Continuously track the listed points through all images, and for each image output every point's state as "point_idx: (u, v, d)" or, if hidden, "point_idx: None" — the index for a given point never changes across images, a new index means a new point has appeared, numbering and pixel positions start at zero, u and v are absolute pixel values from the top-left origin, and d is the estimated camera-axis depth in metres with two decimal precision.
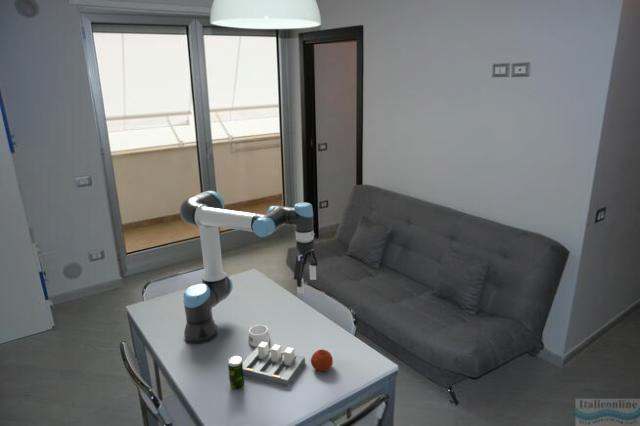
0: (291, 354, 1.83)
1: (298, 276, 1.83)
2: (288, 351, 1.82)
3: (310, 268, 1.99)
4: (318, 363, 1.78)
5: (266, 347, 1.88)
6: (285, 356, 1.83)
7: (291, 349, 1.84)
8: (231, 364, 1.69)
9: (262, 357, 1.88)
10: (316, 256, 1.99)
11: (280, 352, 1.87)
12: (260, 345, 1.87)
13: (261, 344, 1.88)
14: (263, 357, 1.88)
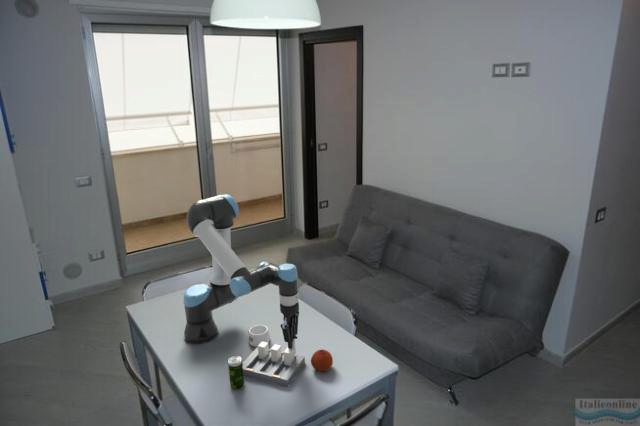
0: (291, 354, 1.82)
1: (288, 340, 1.80)
2: (288, 351, 1.82)
3: None
4: (318, 363, 1.78)
5: (266, 347, 1.88)
6: (285, 356, 1.83)
7: (291, 349, 1.84)
8: (231, 364, 1.69)
9: (262, 357, 1.88)
10: (297, 327, 1.87)
11: (280, 352, 1.87)
12: (260, 345, 1.87)
13: (261, 344, 1.88)
14: (263, 357, 1.88)
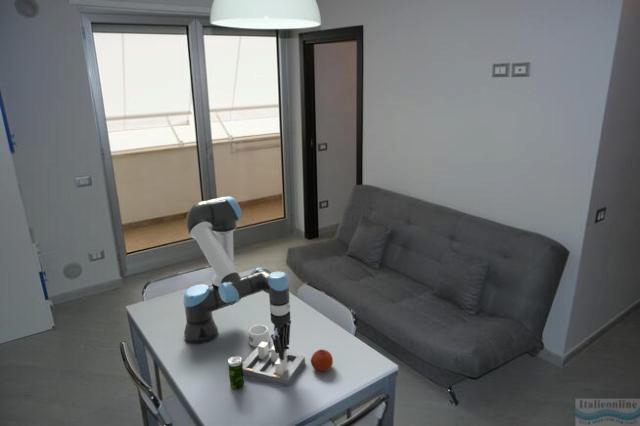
0: (282, 365, 1.76)
1: (279, 351, 1.74)
2: (279, 363, 1.75)
3: None
4: (318, 363, 1.78)
5: (266, 347, 1.88)
6: (276, 367, 1.76)
7: (282, 360, 1.77)
8: (231, 364, 1.69)
9: (262, 357, 1.88)
10: (289, 337, 1.80)
11: None
12: (260, 345, 1.87)
13: (261, 344, 1.88)
14: (263, 357, 1.88)
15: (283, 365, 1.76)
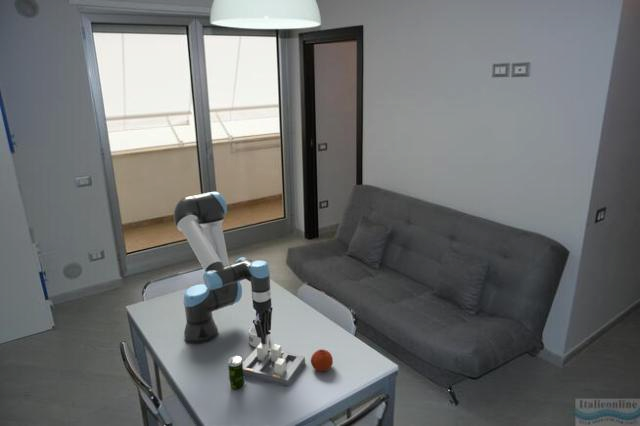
0: (282, 366, 1.75)
1: (261, 336, 1.84)
2: (279, 363, 1.75)
3: None
4: (318, 363, 1.78)
5: (265, 348, 1.87)
6: (276, 368, 1.76)
7: (282, 360, 1.77)
8: (231, 364, 1.69)
9: (261, 358, 1.87)
10: None
11: (280, 352, 1.87)
12: (259, 346, 1.86)
13: (260, 345, 1.87)
14: (262, 358, 1.87)
15: (283, 365, 1.76)
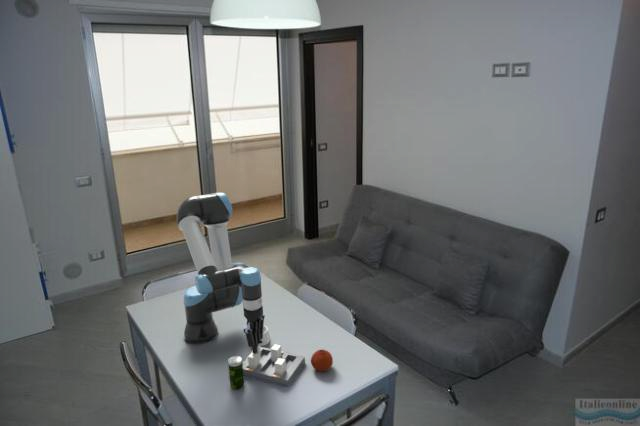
0: (282, 366, 1.75)
1: (252, 345, 1.78)
2: (279, 363, 1.75)
3: None
4: (318, 363, 1.78)
5: (256, 358, 1.81)
6: (276, 368, 1.76)
7: (282, 360, 1.77)
8: (231, 364, 1.69)
9: (252, 368, 1.81)
10: None
11: (280, 352, 1.87)
12: (250, 356, 1.80)
13: (251, 355, 1.81)
14: (253, 368, 1.81)
15: (283, 365, 1.76)
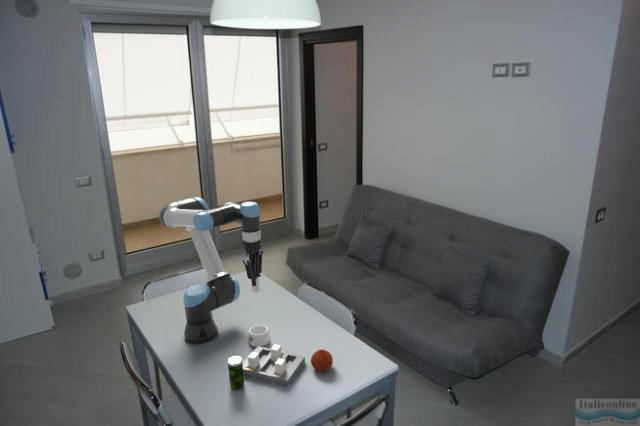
0: (282, 366, 1.75)
1: (251, 277, 1.87)
2: (279, 363, 1.75)
3: None
4: (318, 363, 1.78)
5: (256, 358, 1.81)
6: (276, 368, 1.76)
7: (282, 360, 1.77)
8: (231, 364, 1.69)
9: (252, 368, 1.81)
10: (261, 266, 1.93)
11: (280, 352, 1.87)
12: (250, 356, 1.80)
13: (251, 355, 1.81)
14: (253, 368, 1.81)
15: (283, 365, 1.76)
